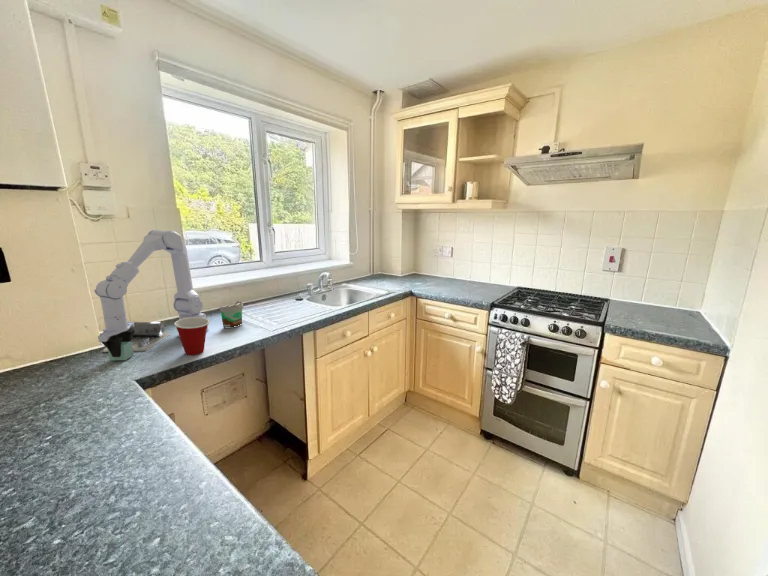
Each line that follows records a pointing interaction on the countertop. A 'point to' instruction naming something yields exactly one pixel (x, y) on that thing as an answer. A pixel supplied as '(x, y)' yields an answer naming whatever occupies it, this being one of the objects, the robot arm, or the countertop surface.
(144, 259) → the robot arm
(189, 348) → the plastic cup
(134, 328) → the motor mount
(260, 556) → the countertop surface
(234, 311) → the food container
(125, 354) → the pump block
